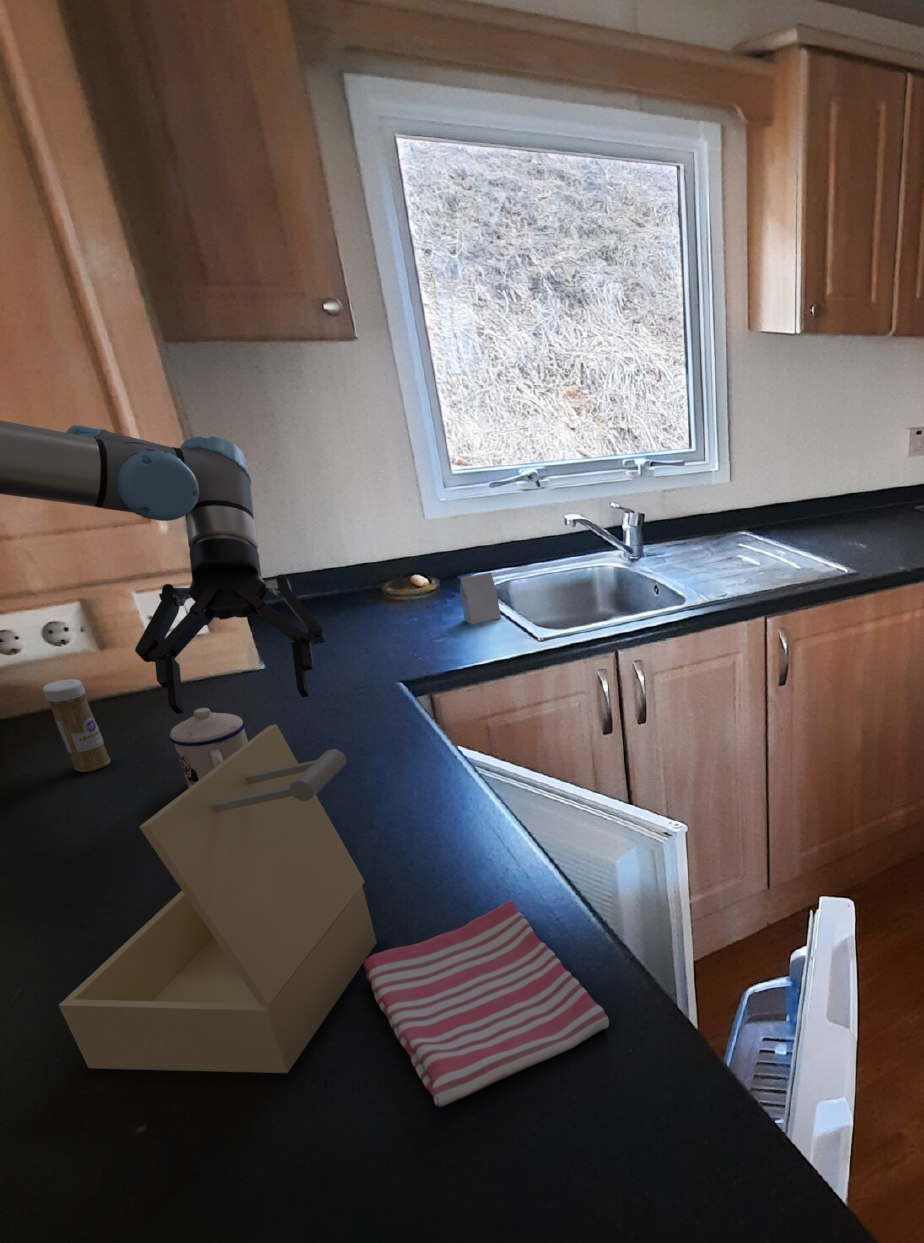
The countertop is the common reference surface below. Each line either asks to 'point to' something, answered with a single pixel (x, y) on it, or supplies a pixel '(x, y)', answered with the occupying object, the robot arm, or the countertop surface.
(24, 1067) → the countertop surface
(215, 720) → the teacup with lid
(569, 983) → the dish towel
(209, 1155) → the countertop surface
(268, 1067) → the beige square open box
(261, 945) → the bin lid
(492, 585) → the grey block
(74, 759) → the sprinkles bottle
